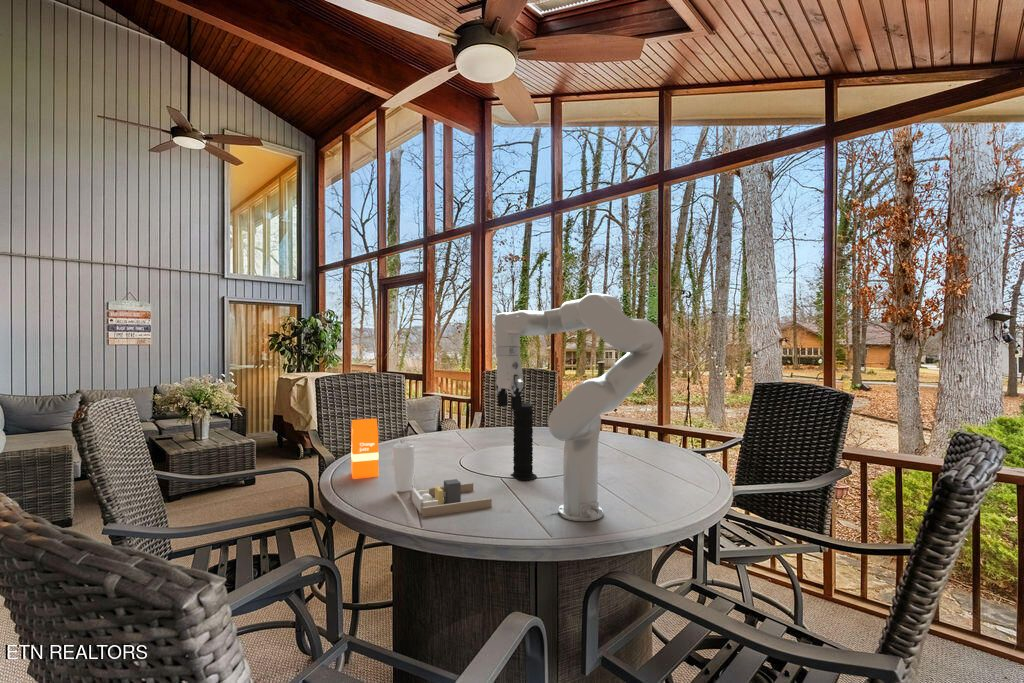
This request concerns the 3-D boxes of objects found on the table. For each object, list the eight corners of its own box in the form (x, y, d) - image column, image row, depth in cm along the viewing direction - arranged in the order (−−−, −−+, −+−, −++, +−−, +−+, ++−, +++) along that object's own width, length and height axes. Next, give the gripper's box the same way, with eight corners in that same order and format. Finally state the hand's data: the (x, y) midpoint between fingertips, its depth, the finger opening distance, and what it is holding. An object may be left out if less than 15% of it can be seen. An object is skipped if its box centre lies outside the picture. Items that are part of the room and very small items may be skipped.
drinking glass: (393, 496, 158) (393, 448, 158) (392, 489, 164) (392, 443, 164) (415, 494, 160) (415, 447, 159) (413, 487, 166) (413, 442, 166)
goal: (438, 511, 142) (438, 497, 142) (420, 513, 140) (420, 499, 140) (428, 499, 153) (428, 486, 153) (411, 501, 151) (411, 488, 151)
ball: (419, 500, 144) (424, 510, 145) (430, 493, 145) (435, 503, 146) (416, 496, 147) (421, 506, 148) (427, 489, 149) (432, 499, 149)
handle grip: (536, 481, 173) (538, 473, 183) (536, 404, 173) (538, 400, 183) (507, 481, 174) (510, 472, 184) (507, 404, 174) (510, 400, 184)
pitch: (491, 510, 146) (491, 498, 146) (422, 520, 138) (422, 508, 138) (472, 492, 161) (472, 482, 161) (409, 501, 153) (409, 490, 153)
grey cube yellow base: (461, 503, 148) (461, 483, 148) (439, 506, 146) (439, 485, 146) (456, 498, 153) (456, 478, 153) (434, 501, 150) (434, 481, 150)
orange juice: (378, 476, 179) (378, 420, 179) (352, 479, 176) (352, 421, 176) (376, 470, 187) (375, 416, 186) (351, 473, 183) (350, 418, 183)
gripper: (531, 352, 151) (533, 409, 151) (506, 352, 166) (508, 404, 166) (509, 353, 147) (510, 411, 147) (485, 352, 163) (487, 405, 163)
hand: (509, 407), depth 157 cm, fingers open, 9 cm apart
